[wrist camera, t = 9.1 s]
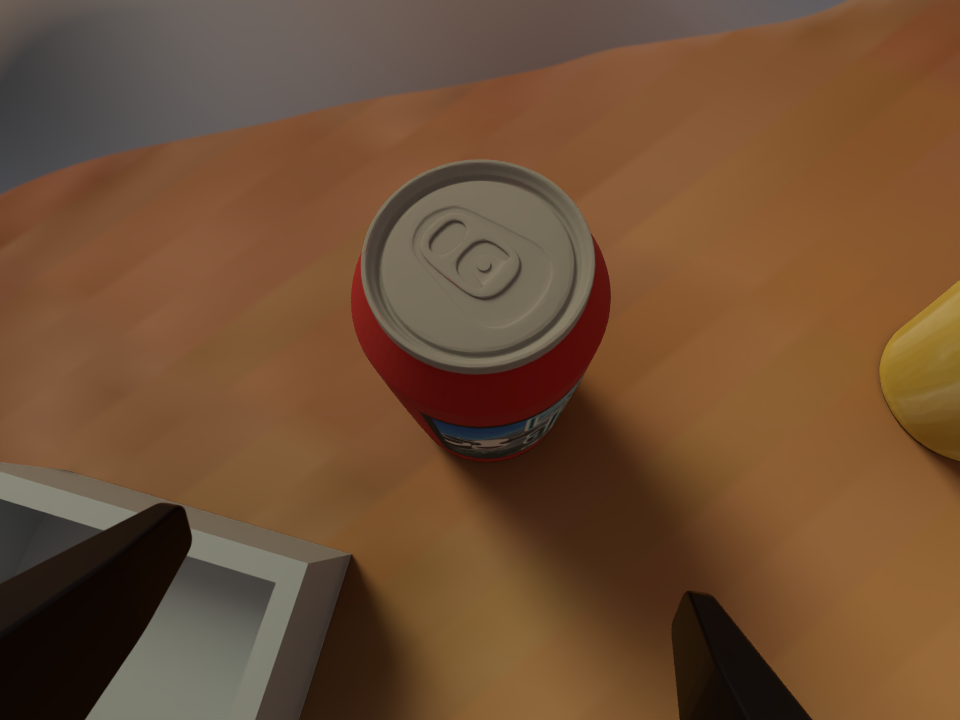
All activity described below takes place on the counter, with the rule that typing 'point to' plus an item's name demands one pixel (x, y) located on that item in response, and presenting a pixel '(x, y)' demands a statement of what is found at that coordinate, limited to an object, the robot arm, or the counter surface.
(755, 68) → the counter surface
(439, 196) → the beverage can
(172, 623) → the tote
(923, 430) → the plant pot
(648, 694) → the counter surface
